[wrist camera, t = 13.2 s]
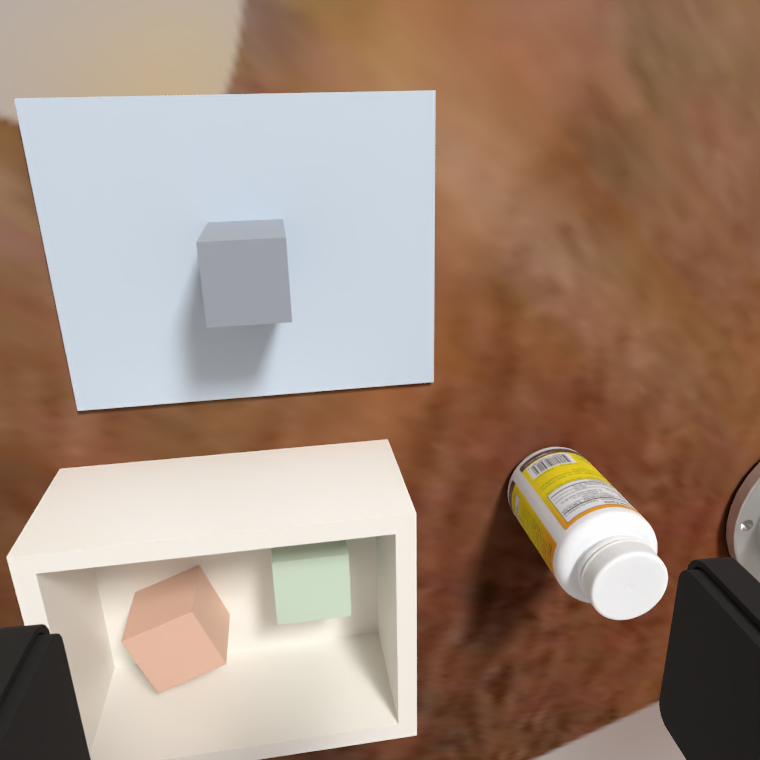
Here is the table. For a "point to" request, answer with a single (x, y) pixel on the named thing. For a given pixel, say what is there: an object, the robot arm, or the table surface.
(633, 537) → the supplement bottle
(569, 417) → the table surface
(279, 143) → the lid
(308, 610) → the sage block
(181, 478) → the storage box
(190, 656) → the terracotta block
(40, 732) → the robot arm
